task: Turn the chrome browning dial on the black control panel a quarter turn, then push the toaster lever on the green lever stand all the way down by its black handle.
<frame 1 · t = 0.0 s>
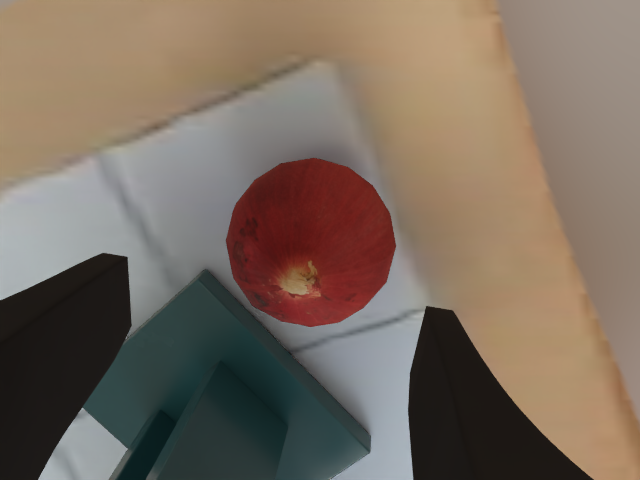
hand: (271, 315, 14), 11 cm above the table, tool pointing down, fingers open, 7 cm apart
green lever stand: (223, 407, 27), on the table
onion: (322, 212, 24), on the table
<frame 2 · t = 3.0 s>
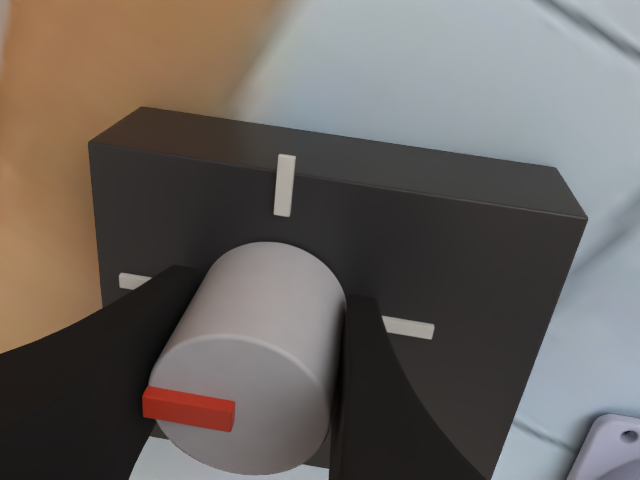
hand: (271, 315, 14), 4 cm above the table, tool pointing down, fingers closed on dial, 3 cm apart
control panel: (324, 279, 17), on the table
dial: (256, 356, 12), point 5 cm above the table, hinge at -0.1°, touching gripper
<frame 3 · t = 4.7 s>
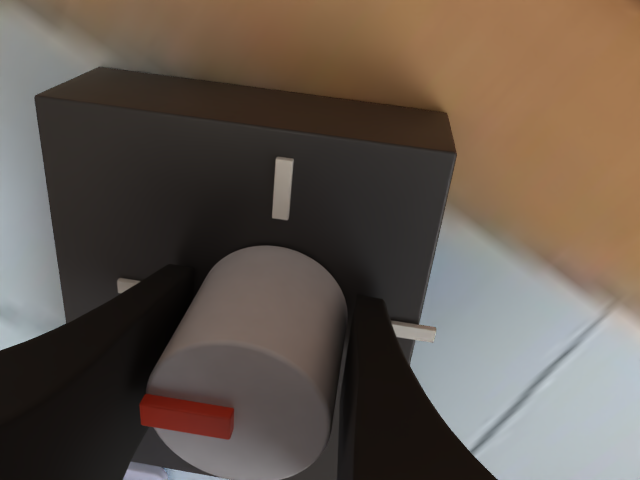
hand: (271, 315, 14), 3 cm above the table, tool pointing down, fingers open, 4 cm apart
control panel: (259, 272, 17), on the table
dial: (255, 361, 12), point 5 cm above the table, hinge at 90.4°
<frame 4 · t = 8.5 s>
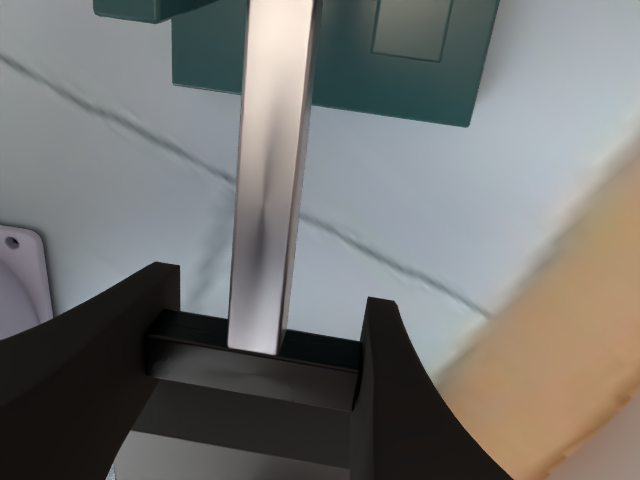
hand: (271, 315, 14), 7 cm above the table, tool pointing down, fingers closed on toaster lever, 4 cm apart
control panel: (259, 467, 27), on the table
toaster lever: (274, 134, 10), point 8 cm above the table, hinge at 4.0°, touching gripper
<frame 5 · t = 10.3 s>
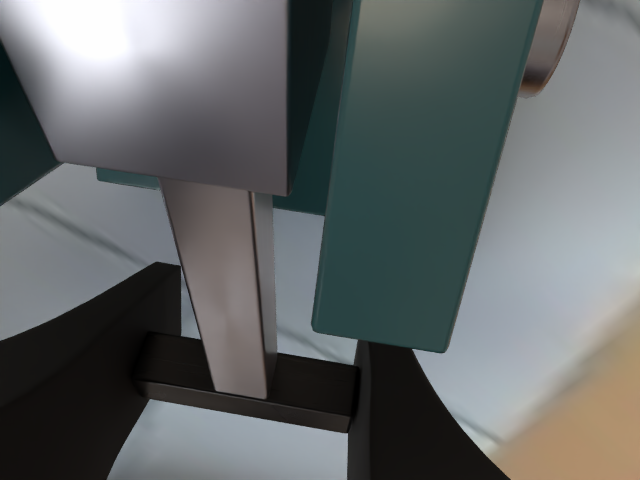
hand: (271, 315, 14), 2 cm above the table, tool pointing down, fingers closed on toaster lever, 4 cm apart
toaster lever: (228, 246, 8), point 6 cm above the table, hinge at -25.6°, touching gripper
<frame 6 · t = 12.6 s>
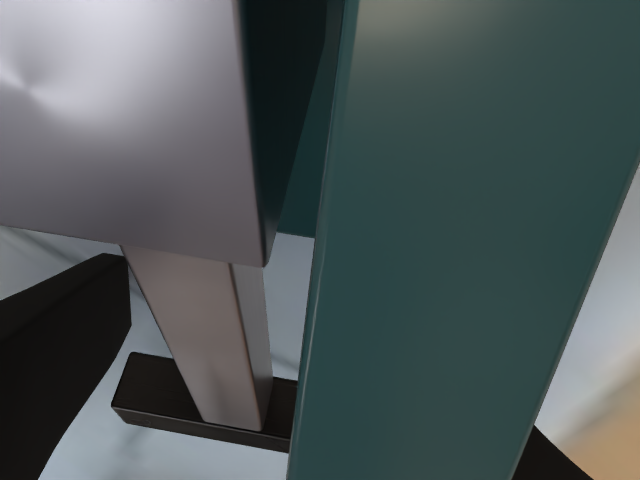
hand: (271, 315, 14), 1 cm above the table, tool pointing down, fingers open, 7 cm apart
toaster lever: (207, 282, 7), point 6 cm above the table, hinge at -28.2°
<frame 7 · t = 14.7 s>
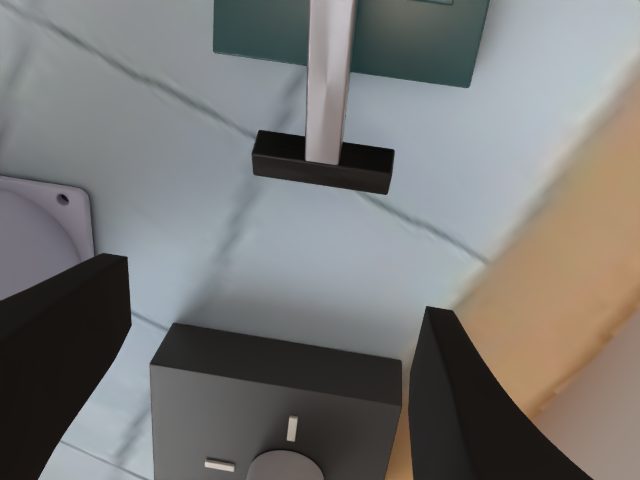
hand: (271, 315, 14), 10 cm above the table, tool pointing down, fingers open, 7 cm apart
control panel: (278, 410, 29), on the table
toaster lever: (331, 35, 15), point 6 cm above the table, hinge at -28.2°
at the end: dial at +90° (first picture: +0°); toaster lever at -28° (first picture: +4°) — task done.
